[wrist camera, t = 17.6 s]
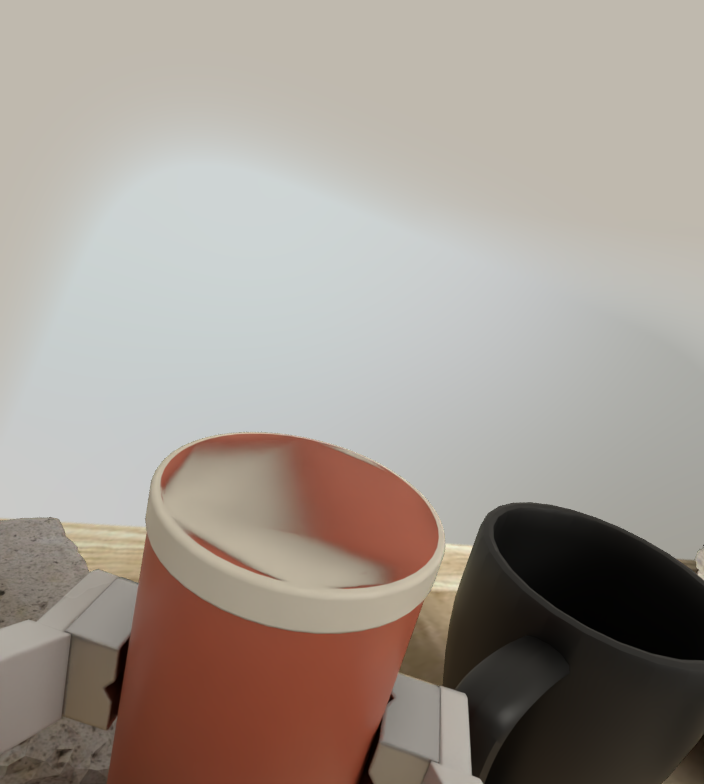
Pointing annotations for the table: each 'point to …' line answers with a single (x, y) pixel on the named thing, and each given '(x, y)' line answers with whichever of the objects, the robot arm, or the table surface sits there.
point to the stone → (31, 601)
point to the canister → (270, 612)
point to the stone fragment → (700, 563)
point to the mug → (575, 651)
